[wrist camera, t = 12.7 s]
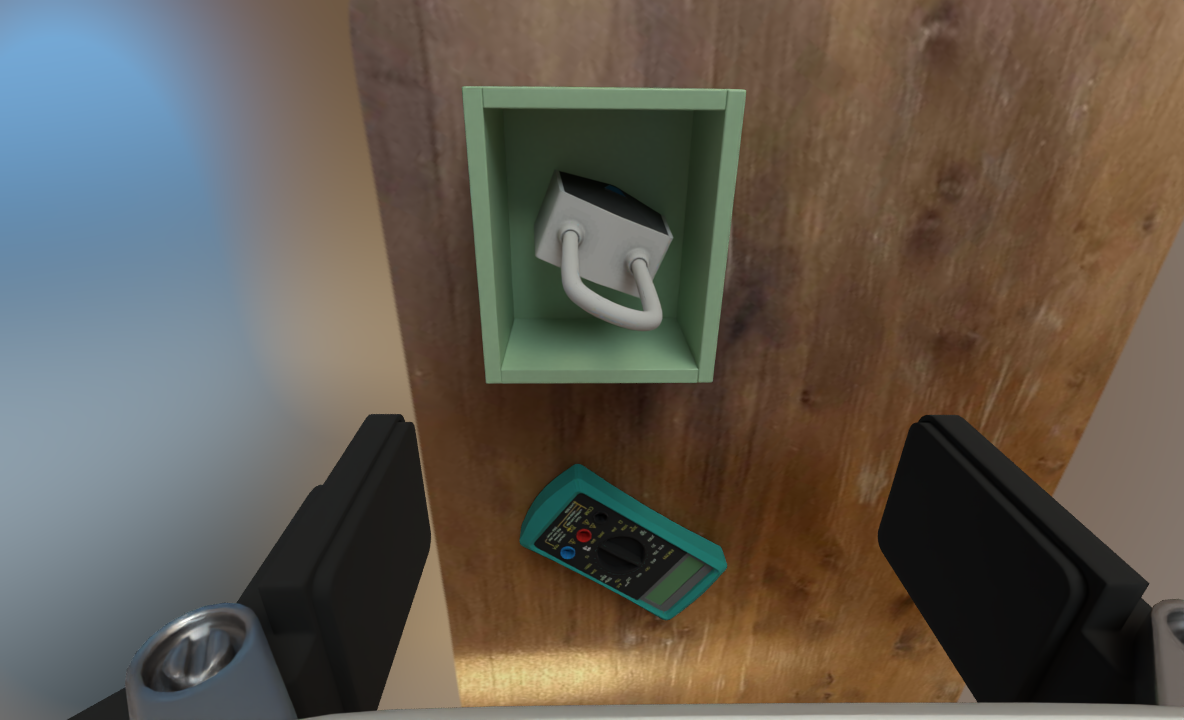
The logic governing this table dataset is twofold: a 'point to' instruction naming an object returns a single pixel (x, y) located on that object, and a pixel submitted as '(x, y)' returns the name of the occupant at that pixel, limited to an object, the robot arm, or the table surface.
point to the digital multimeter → (620, 543)
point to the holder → (638, 167)
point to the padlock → (603, 246)
